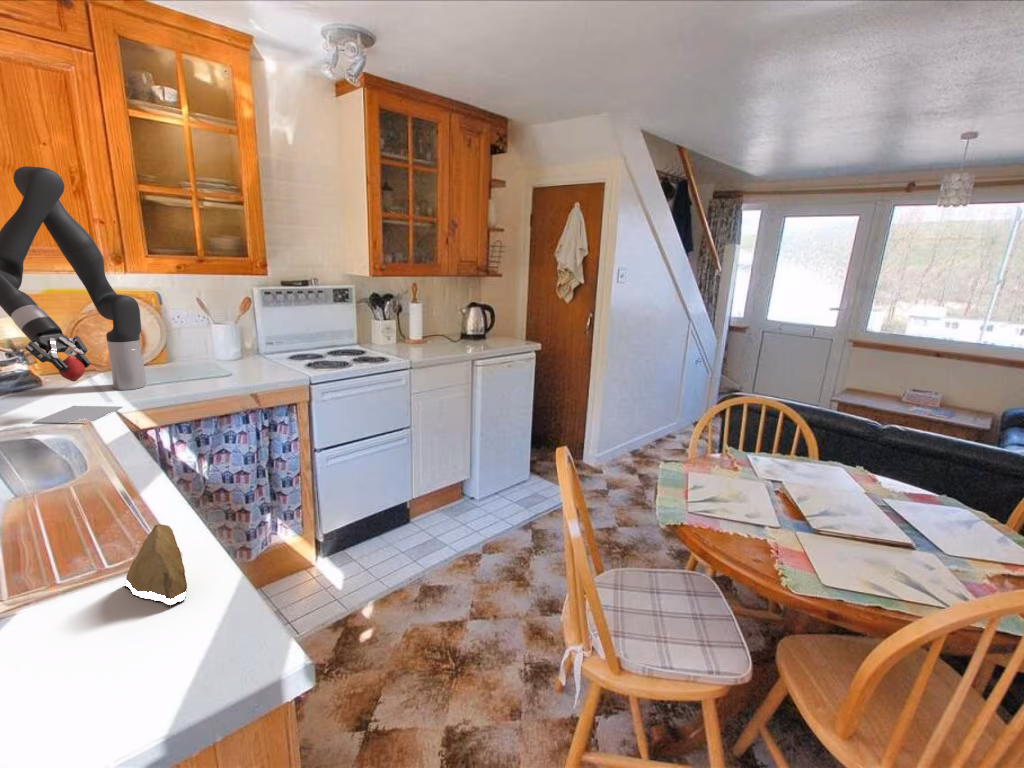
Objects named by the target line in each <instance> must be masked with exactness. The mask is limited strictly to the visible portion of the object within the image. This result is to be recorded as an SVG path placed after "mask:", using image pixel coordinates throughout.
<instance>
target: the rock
mask: <svg viewBox="0 0 1024 768" xmlns="http://www.w3.org/2000/svg"><path fill="white" fill-rule="evenodd" d="M185 572H186V569H185V565H184V562H183V557H182V554H181V550H180V547H179V546H178V543H177V540H176V537H175V534H174V530H173V529H172V528H171V526H170V525H166V524H155V525H154V526H153V528H152V530H151V531H150V532H149V533H148V535H147V536H146V538H145V540H143V543H142V545H141V547H140V549H139V550H138V552H137V556H136V558H135V559H134V560H133V561H132V564H131V565H130V567H129V570H128V571H127V574H126V580H128V581H129V582H130V583H131V585H132V587H133V588H135V589H136V590H137V591H147V592H149V591H152V592H155V593H157V594H161V595H165V596H166V598H170V599H171V598H174V597H175V596H177V595H179V594H181V593H183V592H185V591H186V592H187V590H188V583H187V578H186V573H185Z"/></svg>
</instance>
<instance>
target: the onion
mask: <svg viewBox="0 0 1024 768" xmlns="http://www.w3.org/2000/svg"><path fill="white" fill-rule="evenodd" d="M62 361H63V362H64V363H65V364H66V365H67V366H68V369H67V370H66V371H65V372H61V371H59V370H58V372H59V373H58V374H60V376H61V377H63V378H64V379H66V380H68V381H70V382H77V381H78V380H79V379H80V378H81V377H83V376H84V374H85V373H86V368H85V366H84V364H83V363H82V362H81V361H79V360H77V358H75V357H74V356H73V355H67V357H66V358H65V359H63V360H62Z"/></svg>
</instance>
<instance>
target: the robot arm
mask: <svg viewBox="0 0 1024 768" xmlns="http://www.w3.org/2000/svg"><path fill="white" fill-rule="evenodd" d="M13 173H14V174H13V183H14V185H15V187H16V189H17V191H18V192H19V193H20V194H21V195H22V200H21V203H20V205H19V206H18V208H17V209H16V211H15V212H14V213H13V215H12V216H11V217H10V218H9V219H8V220H7V221H6V222H5V223H4V225H3V226H2V228H1V229H0V307H1V309H2V310H3V311H4V312H5V313H6V314H7V316H9V318H11V320H12V321H13V323H14V324H15V325H16V327H17V328H18V329H19V330H20V331H21V332H22V334H24V335H25V336H26V338H27V339H28V340H30V341H29V342H28V343H27V344H26V346H25V347H24V349H25V350H26V351H27V352H29V353H30V354H31V355H32V356H33V357H35V358H36V359H37V360H38V361H40V363H46V362H48V363H50V364H52V365H53V366H54V367H55V368H56V369H57V370H58V372H59V371H61V372H65V371H66V370H67V369H68V366H67V365H66V364H65V363H64V362H63V360H62V359H61V358H60V357H59V356H58V353H63V354H65V355H67V356H69V355H73V356H74V358H75V359H77V360H79V361H81V362H82V363H83V364H84V366H85V369H87V368H89V366H90V365H91V361H90V360H89V358H88V357H87V356H85V354H87V352H88V351H89V350H88V348H87V347H86V345H85V343H84V342H83V341H82V339H81V338H80V337H79V336H78V335H75V336H74V337H68V336H67V335H65V334H64V333H63V331H62V328H61V327H60V326H59V325H58V324H57V323H56V322H55V321H54V320H53V318H52V317H51V316H50V315H49V314H48V313H47V312H46V311H45V310H44V309H43V308H42V307H40V306H39V305H38V304H37V303H36V301H34V299H33V298H32V297H30V295H28V293H26V292H24V291H22V290H20V288H21V286H22V282H23V276H24V275H23V274H24V262H25V259H26V257H27V255H28V252H29V250H30V248H31V246H32V244H33V242H34V240H35V238H36V235H37V234H38V231H39V230H40V228H41V226H42V224H44V226H45V228H46V230H47V231H48V233H49V234H50V236H51V238H52V239H53V240H54V242H55V244H56V245H57V247H58V248H59V250H60V252H61V253H62V255H63V257H64V258H65V260H66V261H67V262H68V263H69V265H70V266H71V268H72V269H73V271H74V272H75V274H76V275H77V277H78V278H79V280H80V282H81V283H82V284H83V286H84V288H85V290H86V291H87V293H88V295H89V297H90V300H91V301H92V304H93V305H94V307H95V309H96V310H97V313H98V314H99V315H101V317H103V319H107V320H110V321H112V327H113V328H111V330H110V331H107V332H106V334H105V335H106V336H105V337H106V343H107V349H108V356H109V363H110V370H111V376H112V384H113V388H114V389H115V390H120V391H121V390H122V391H123V390H124V391H127V390H128V391H129V390H136V389H141V388H144V387H146V385H147V379H146V371H145V364H144V359H143V355H142V348H141V341H140V340H141V339H140V335H141V332H142V321H141V309H140V306H139V302H138V301H137V300H136V299H135V298H134V297H132V296H130V295H126V294H118V293H116V292H115V290H114V289H113V287H112V286H111V284H110V282H109V281H108V279H107V276H106V272H105V261H104V256H103V254H102V252H101V250H100V249H99V247H98V246H97V244H96V242H95V241H94V239H93V238H92V236H91V235H90V234H89V233H88V232H87V231H86V229H84V227H83V226H82V225H81V224H80V223H79V222H78V221H77V220H76V219H75V218H74V217H73V216H71V215H70V213H69V212H68V211H67V210H66V208H65V207H64V205H63V204H62V202H61V199H60V198H61V197H62V195H63V194H64V190H65V183H64V180H63V178H62V177H61V176H60V174H58V173H57V172H56V171H54V170H52V169H49V168H46V167H42V166H41V167H40V166H30V165H29V166H27V165H25V166H20V167H18V168H16V170H15V171H14V172H13Z"/></svg>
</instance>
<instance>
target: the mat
mask: <svg viewBox="0 0 1024 768" xmlns="http://www.w3.org/2000/svg"><path fill="white" fill-rule="evenodd" d="M122 408H123V406H115V405H113V406H111V405H110V406H109V405H107V406H106V405H105V406H103V405H102V406H101V405H100V406H99V405H72V406H70V407H67V408H65V409H64V408H63V409H62V410H60V411H57V412H55V413H51V414H50V415H47V416H45V417H42V418H39V419H37V420H34V421H33V422H34V423H69V422H72V421H75V420H79V419H84V418H85V419H88V420H90V421H93V422H95V421H97V420H100V419H101V418H103V416H104V415H106V414H108V413H110V414H112V413H115V412H117V411H118V410H120V409H121V410H122ZM111 412H112V413H111ZM108 415H109V414H108ZM106 416H107V415H106ZM104 417H105V416H104Z"/></svg>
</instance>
